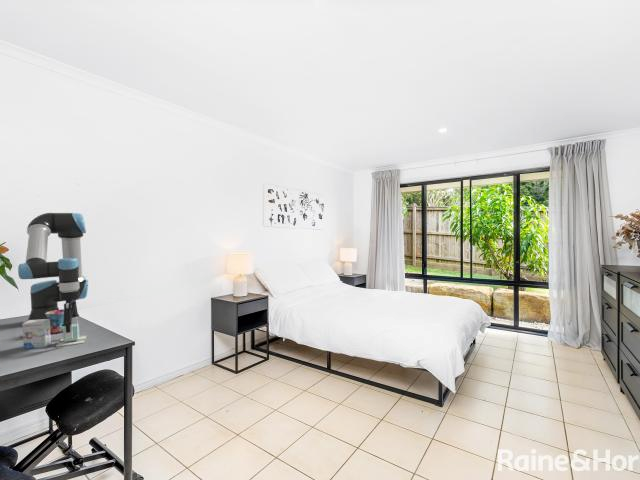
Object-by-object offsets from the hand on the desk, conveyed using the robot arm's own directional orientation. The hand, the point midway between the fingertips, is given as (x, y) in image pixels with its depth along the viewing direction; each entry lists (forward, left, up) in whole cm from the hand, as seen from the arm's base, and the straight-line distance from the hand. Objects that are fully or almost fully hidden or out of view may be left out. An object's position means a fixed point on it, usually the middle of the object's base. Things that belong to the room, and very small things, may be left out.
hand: (71, 334), depth 151 cm
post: (0, 0, -3) cm, 3 cm away
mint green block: (0, 0, -2) cm, 2 cm away
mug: (-23, -8, -3) cm, 24 cm away
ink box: (-1, -13, -3) cm, 13 cm away
